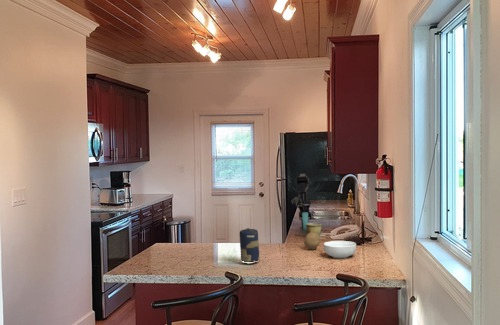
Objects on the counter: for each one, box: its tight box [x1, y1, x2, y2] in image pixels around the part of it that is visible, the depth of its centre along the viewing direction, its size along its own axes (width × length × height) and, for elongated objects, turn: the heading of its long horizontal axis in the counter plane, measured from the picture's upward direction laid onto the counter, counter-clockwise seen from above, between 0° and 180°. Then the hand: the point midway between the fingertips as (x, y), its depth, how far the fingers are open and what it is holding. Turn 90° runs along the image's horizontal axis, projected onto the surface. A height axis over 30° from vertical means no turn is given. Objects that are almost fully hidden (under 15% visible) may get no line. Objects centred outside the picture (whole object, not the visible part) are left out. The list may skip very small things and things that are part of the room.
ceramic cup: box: [306, 222, 323, 239], centre depth 277 cm, size 13×10×10 cm
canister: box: [239, 227, 260, 262], centre depth 221 cm, size 10×10×18 cm
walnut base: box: [294, 228, 308, 237], centre depth 295 cm, size 12×12×4 cm
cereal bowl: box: [323, 240, 357, 259], centre depth 224 cm, size 17×17×7 cm
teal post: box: [302, 212, 310, 230], centre depth 295 cm, size 4×4×14 cm
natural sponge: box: [303, 232, 321, 251], centre depth 245 cm, size 9×9×10 cm
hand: (303, 215), depth 307 cm, fingers open, 9 cm apart
